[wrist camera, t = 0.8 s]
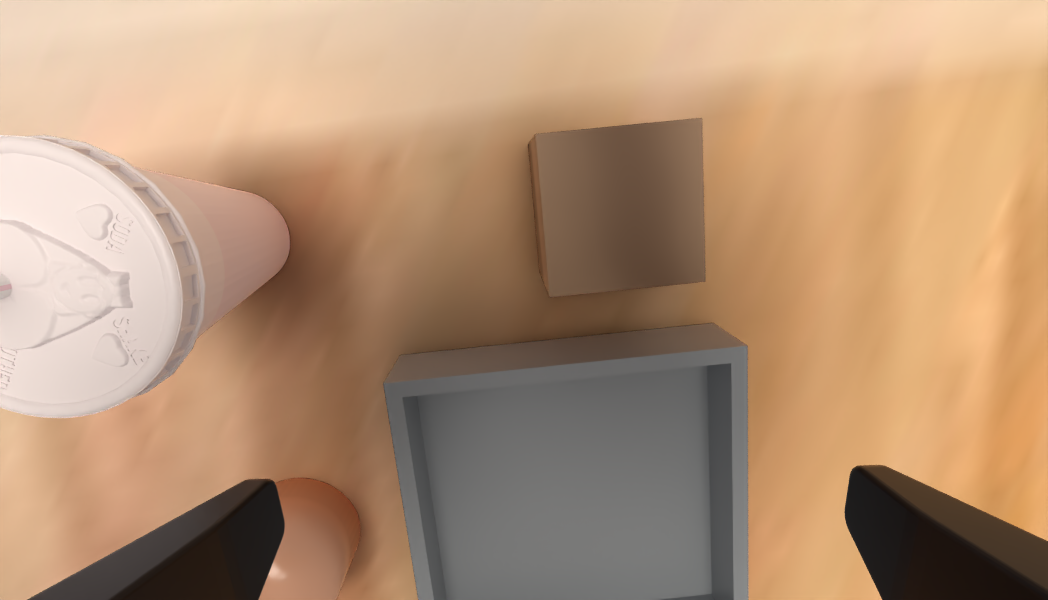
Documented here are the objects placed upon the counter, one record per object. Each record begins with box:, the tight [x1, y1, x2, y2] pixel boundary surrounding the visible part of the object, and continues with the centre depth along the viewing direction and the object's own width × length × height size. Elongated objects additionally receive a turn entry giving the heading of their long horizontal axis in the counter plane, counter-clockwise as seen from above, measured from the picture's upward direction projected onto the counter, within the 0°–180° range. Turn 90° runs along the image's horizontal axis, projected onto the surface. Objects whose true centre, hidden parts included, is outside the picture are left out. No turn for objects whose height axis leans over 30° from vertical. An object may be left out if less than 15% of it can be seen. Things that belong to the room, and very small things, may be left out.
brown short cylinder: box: [259, 478, 361, 600], centre depth 22 cm, size 5×5×4 cm
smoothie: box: [0, 135, 290, 418], centre depth 14 cm, size 6×6×14 cm
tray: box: [383, 323, 748, 600], centre depth 22 cm, size 13×13×3 cm
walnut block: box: [528, 118, 705, 297], centre depth 19 cm, size 5×5×5 cm
